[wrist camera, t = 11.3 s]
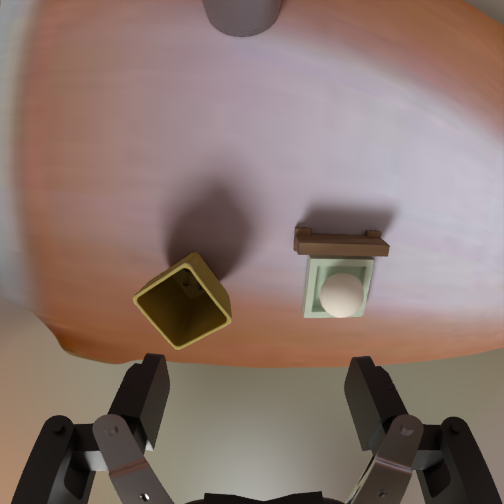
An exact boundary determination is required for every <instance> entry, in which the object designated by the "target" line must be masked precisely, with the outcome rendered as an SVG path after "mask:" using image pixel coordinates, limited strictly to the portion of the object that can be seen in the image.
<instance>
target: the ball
mask: <svg viewBox="0 0 504 504" xmlns="http://www.w3.org/2000/svg"><path fill="white" fill-rule="evenodd" d="M363 299H364V290H363V286H362V284H361V282H360V281H359V280H358V279H357V278H356V277H355V276H353V275H351V274H349V273H336V274H333V275H331V276H330V277H328V278H327V279H326V280H325V281H324V283H323V285H322V287H321V290H320V301H321V304H322V306H323V308H324V309H325V311H326V312H328V313H329V314H330V315H332V316H335V317H340V318H343V317H348V316H351V315H353V314H354V313H356V312H357V311H358V310H359V308H360V307H361V305H362V303H363Z"/></svg>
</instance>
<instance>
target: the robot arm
mask: <svg viewBox="0 0 504 504" xmlns="http://www.w3.org/2000/svg"><path fill="white" fill-rule="evenodd" d="M202 2H203V5H204V8H205V11H206V13H207V16H208V18H209V20H210V22H211V24H212V25H213V26H214V27H215V28H216V29H218V30H219V31H221V32H223V33H225V34H228V35H231V36H238V37H246V36H253V35H257V34H259V33H262V32H264V31H265V30H267V29H268V28H270V27H271V26H272V25H273V24H274V22H275V21H276V19H277V17H278V14H279V10H280V5H281V2H282V0H202ZM169 390H170V380H169V374H168V370H167V365H166V359H165V356H164V355H161V354H151V353H147V354H146V355H145V357H144V360H143V362H142V364H137V363H135V364H134V365H133V366H132V367H130V368H129V369H128V371H127V372H126V374H125V376H124V378H123V381H122V383H121V385H120V388H119V389H118V392H117V394H116V396H115V398H114V401H113V403H112V405H111V407H110V410H109V412H108V414H107V415H103V416H101V417H99V418H98V419H97V420H96V421H95V422H94V423H93V424H73V423H72V421H71V420H70V419H69V418H67V417H66V416H62V415H57V416H53V417H51V418H49V419H48V420H47V421H46V422H45V424H44V425H43V427H42V429H41V432H40V434H39V436H38V438H37V440H36V442H35V445H34V447H33V449H32V451H31V454H30V456H29V458H28V461H27V463H26V466H25V468H24V470H23V473H22V475H21V478H20V480H19V483H18V486H17V488H16V491H15V494H14V496H13V499H12V502H11V504H87V503H88V499H89V495H90V492H91V488H92V484H93V480H94V477H95V473H96V471H106V470H107V471H108V470H109V477H110V479H111V482H112V484H113V486H114V488H115V490H116V492H117V494H118V496H119V498H120V500H121V502H122V504H174V502H173V501H172V499H171V498H170V496H169V495H168V493H167V492H166V490H165V489H164V487H163V486H162V484H161V483H160V481H159V480H158V478H157V476H156V475H155V473H154V472H153V470H152V468H151V467H150V465H149V463H148V462H147V460H146V459H145V457H144V452H145V450H151V451H153V450H154V447H155V442H156V439H157V435H158V431H159V428H160V424H161V420H162V417H163V413H164V409H165V406H166V402H167V398H168V394H169ZM344 391H345V395H346V399H347V402H348V405H349V409H350V412H351V415H352V418H353V421H354V424H355V428H356V431H357V434H358V438H359V440H360V444H361V448H362V451H366V450H372V453H373V455H372V457H371V459H370V461H369V463H368V464H367V466H366V468H365V470H364V472H363V474H362V475H361V477H360V479H359V481H358V482H357V484H356V486H355V487H354V489H353V491H352V492H351V494H350V495H349V497H348V498H347V500H346V501H345V503H343V502H340V501H338V500H334V499H331V498H324V497H323V496H322V491H319V492H309V493H298V494H291V495H288V496H284V497H280V498H277V499H272V500H268V501H259V500H254V499H249V498H245V497H241V496H236V495H227V494H211V493H205V494H204V499H200V500H196V501H191V502H188V503H185V504H400V503H401V500H402V498H403V496H404V493H405V491H406V489H407V486H408V484H409V481H410V479H411V476H412V473H413V470H416V473H417V476H418V479H419V482H420V486H421V489H422V493H423V496H424V500H425V503H426V504H502V501H501V499H500V496H499V493H498V491H497V488H496V486H495V483H494V481H493V479H492V476H491V474H490V472H489V469H488V467H487V465H486V462H485V460H484V458H483V456H482V453H481V451H480V449H479V447H478V445H477V443H476V441H475V439H474V437H473V435H472V433H471V431H470V429H469V427H468V425H467V423H466V422H465V421H464V420H463V419H461V418H458V417H449V418H446V419H445V420H444V421H443V422H442V424H441V425H426V424H422V422H421V421H420V420H419V419H418V418H416V417H415V416H412V415H409V414H408V412H407V410H406V408H405V406H404V404H403V402H402V400H401V398H400V396H399V394H398V392H397V390H396V388H395V386H394V384H393V383H392V380H391V378H390V376H389V374H388V373H387V372H386V371H385V370H384V369H383V368H382V367H381V366H376V367H375V365H374V363H373V361H372V359H371V357H370V356H362V357H353V358H352V360H351V363H350V366H349V370H348V373H347V376H346V380H345V385H344Z"/></svg>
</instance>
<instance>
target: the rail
mask: <svg viewBox="0 0 504 504" xmlns="http://www.w3.org/2000/svg"><path fill="white" fill-rule="evenodd" d="M380 236H381V232H380V231H372V230H366V234H365V235H342V234H314V233H311V229H310V228H299V227H295V235H294V251H297V253H298V255H340V256H388V252H389V247H390V245H388V244H387V243H386V242H385V241H384V240H382V239H381V238H380Z"/></svg>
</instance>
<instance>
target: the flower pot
mask: <svg viewBox="0 0 504 504" xmlns="http://www.w3.org/2000/svg"><path fill="white" fill-rule="evenodd" d="M186 268H188V269H189V271H186ZM184 282H186V283H187V286H185V285H184ZM199 286H202V287H203V289H200V288H199ZM132 299H133V301H134V303H135V304H136V305H137V306H138V308H139V309H140V310H141V311H142V313H143V314H144V315H145V316H146V317H147V318H148V320H149V321H150V322H151V323H152V324H153V325H154V326H155V327H156V329H157V330H158V331H159V332H160V333H161V334H162V335H163V336H164V338H165V339H166V340H167V341H168V342H169V343H170V344H171V345H172V346H173V347H174V348H175V349H177V350H179V349H182V348H184V347H186V346H188V345H190V344H191V343H193V342H195V341H197V340H199V339H201V338H203V337H205V336H207V335H209V334H211V333H213V332H215V331H217V330H219V329H221V328H223V327H225V326H227V325H228V324H230V323H231V322H232V314H231V304H230V299H229V296H228V293H227V292H226V290H225V289H224V287H223V286H222V285H221V283H220V282H219V281H218V279H217V278H216V277H215V275H214V274H213V273H212V271H211V270H210V269H209V267H208V266H207V265H206V263H205V262H204V260H203V259H202V258H201V256H200V255H199V254H198V253H197V252H193V253H191V254H190V255H188V256H187V257H185V258H184V259H182V260H181V261H179V262H178V263H176V264H175V265H173V266H172V267H170V268H169V269H167V270H166V271H164V272H162V273H161V274H159V275H158V276H156V277H155V278H153V279H152V280H150V281H149V282H148V283H147V284H146V285H145V286H144V287H143V288H142V289H141V290H140V291H139V292H137V293H136V294H135V295H134V296H133V298H132Z"/></svg>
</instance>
